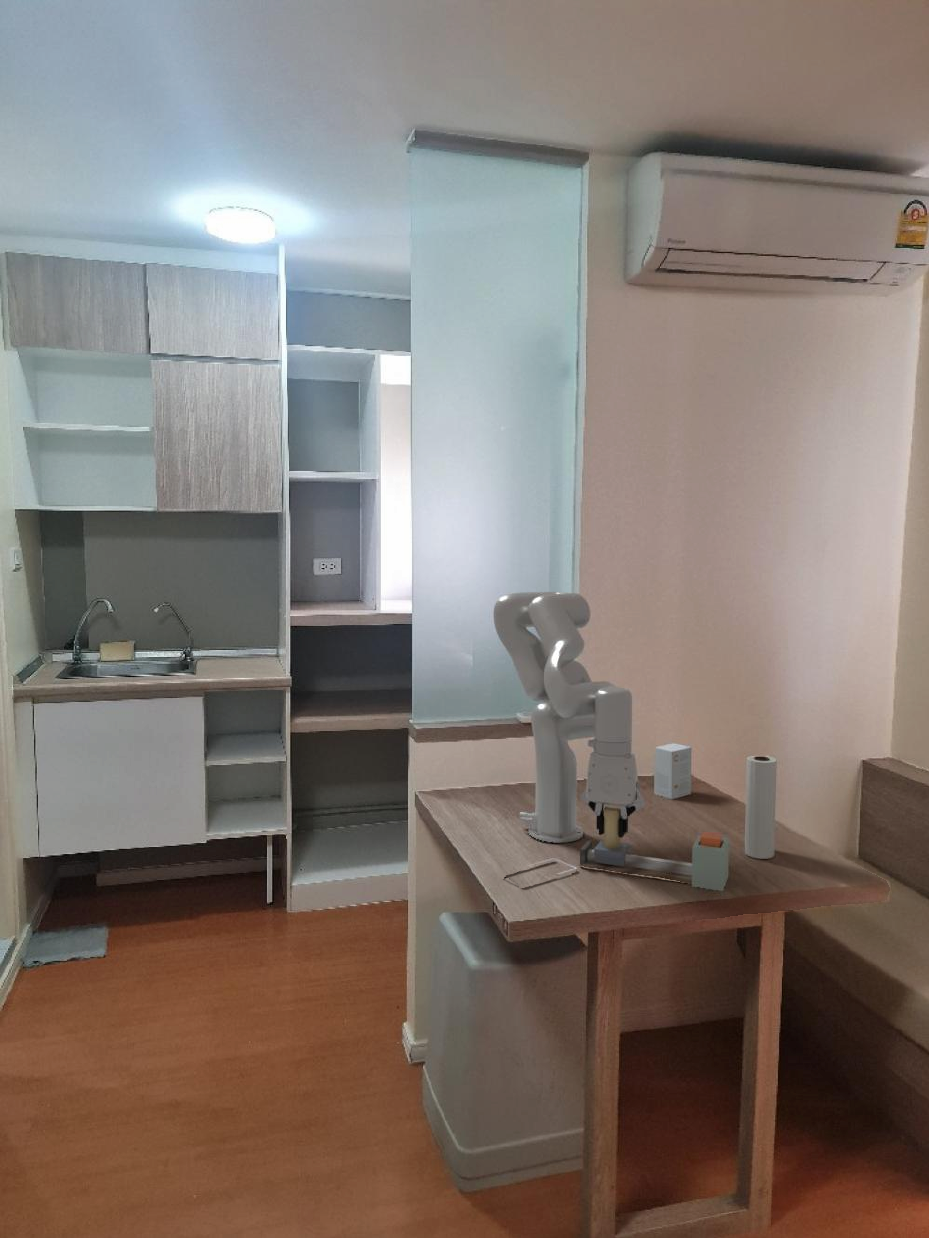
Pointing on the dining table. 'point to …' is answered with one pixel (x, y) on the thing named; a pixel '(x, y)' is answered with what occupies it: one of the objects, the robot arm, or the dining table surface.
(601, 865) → the rail base
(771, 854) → the paper towel roll
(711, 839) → the button
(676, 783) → the small box
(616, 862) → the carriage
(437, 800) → the dining table surface
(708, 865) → the green button housing
